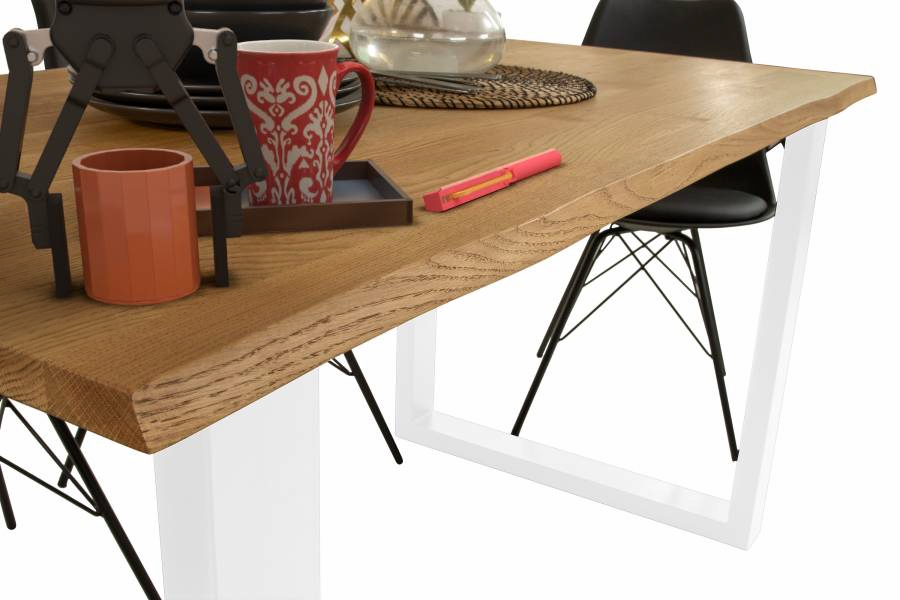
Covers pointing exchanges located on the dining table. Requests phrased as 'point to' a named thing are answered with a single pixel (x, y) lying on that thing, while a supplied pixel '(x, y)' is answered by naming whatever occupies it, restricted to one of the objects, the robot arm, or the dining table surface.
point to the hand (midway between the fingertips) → (145, 288)
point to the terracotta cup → (137, 225)
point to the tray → (318, 204)
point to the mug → (298, 116)
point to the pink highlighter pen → (490, 181)
